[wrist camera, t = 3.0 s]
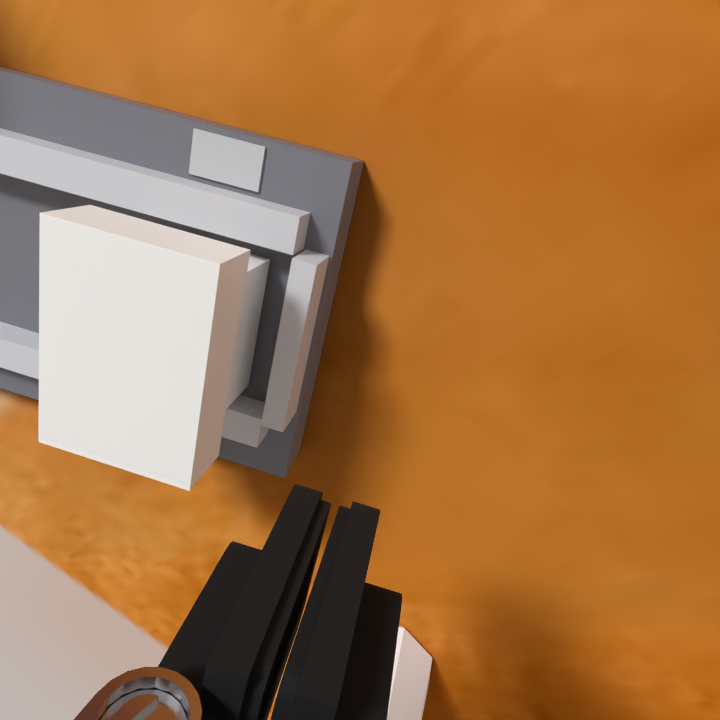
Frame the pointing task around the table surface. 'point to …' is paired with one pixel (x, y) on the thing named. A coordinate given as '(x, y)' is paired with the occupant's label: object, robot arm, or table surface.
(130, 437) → the fader knob
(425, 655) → the salt shaker
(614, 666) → the table surface
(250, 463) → the fader panel
